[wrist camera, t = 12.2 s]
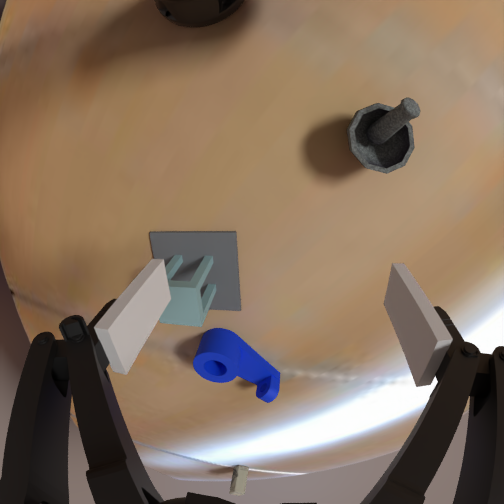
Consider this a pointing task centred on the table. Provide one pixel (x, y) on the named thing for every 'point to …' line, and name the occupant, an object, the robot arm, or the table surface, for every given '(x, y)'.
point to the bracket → (235, 363)
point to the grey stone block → (239, 480)
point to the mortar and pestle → (383, 135)
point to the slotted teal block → (188, 295)
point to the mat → (194, 251)
